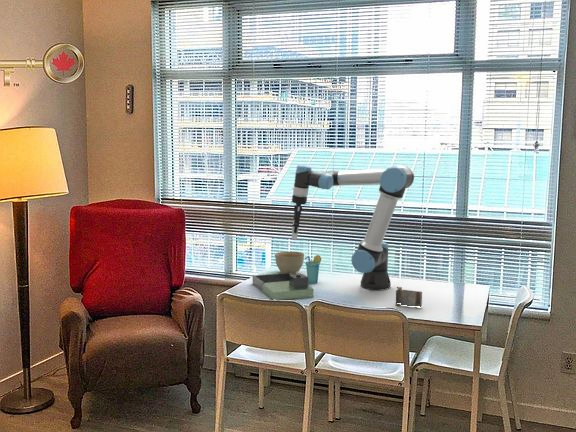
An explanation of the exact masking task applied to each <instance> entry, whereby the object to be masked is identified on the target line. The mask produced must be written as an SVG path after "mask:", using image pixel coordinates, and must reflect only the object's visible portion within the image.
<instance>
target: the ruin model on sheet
mask: <svg viewBox="0 0 576 432" xmlns="http://www.w3.org/2000/svg"><path fill="white" fill-rule="evenodd" d="M397 303H401V305H407V306H420V307H421V306H422V307H423V305H422V304H423V291H418V290H409V289H403V288H402V286H396V290H395V305H396V304H397Z"/></svg>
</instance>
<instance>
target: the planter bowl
mask: <svg viewBox="0 0 576 432" xmlns="http://www.w3.org/2000/svg"><path fill="white" fill-rule="evenodd" d="M274 258H275V263H276V267H277V269H279V272H280V273H291V274H292V275H295V274H296V272H297V271H300V270H301V269H302V266H303V264H304V260H305V253H304V252H299V251H280V252H275V253H274Z"/></svg>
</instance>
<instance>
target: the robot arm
mask: <svg viewBox="0 0 576 432" xmlns="http://www.w3.org/2000/svg"><path fill="white" fill-rule="evenodd" d="M295 170H296V171H295V177H294V184H293V187H292V190H293V191H292V197H291V202H292V203H293V204H295V205H294V206H293V207H294V209H293V213H294V214H293V219H292V228H291V239H292V240H297V239H298V234H299V228H300V220H301V215H302V211H303V206H302V205H306V204H307V202H308V201H307V200H308V194H309V187H314V188H317V189H321V190H331V188H332V187H335V186H336V187H340V186H379V187H378V191H379V193H380V195H379V198H378V200H377V202H376V205H375V209H374V211H373V214H372V217H371V219H370V223H369V225H368V228H367V231H366V233H365V236H364V239H362V240H360V242H359V244H358V246H357V248H356V249H357V250H356V251H354V253H353V254H352V255H351V265H352V267H353V269H354V270H355V271H356V272H358V273H361V274H362V276H361V279H360V287H361V288H363V289H367V290H372V291H373V290H374V291H375V290H376V291H380V289H384V290H388V289H390V288H391V287H392V286H391V285H392V284H391V280H390V276H389V275H390V274H389V272H388V271H389V270H388V264H389V261H388V260H389V244H388V242H385V241H384V238H385V236H386V234H387V231H388V228H389V226H390V223H391V219H392V218H393V214H394V211H395V210H396V209H395V208H396V206H397V205H398V201H400V200H401V199H403V197H404V194H405V192H406V189H408V188H410V187H411V186H412V184H413V183H414V181H415V174H414V173H415V172H414V171H413V170H412V168H411V167H409V166H408V165H405V164H399V165H390V166H388V167H386V168H385V169H384V168H383V169H359V170H358V169H354V170H330V171H323V172H319V171H314V170H312V166H311V165H308V164H297V166H296V169H295ZM390 286H391V287H390ZM389 287H390V288H389ZM387 288H388V289H387Z"/></svg>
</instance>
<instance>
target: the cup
mask: <svg viewBox="0 0 576 432" xmlns="http://www.w3.org/2000/svg"><path fill="white" fill-rule="evenodd" d="M307 259H308V261H306V262H305V266H306V268H305V269H306V276H307V277H308V285H309V284H311V285H316V284H318V281H319V274H320V266H321V265H320V264H321V262H322V257H321V255H320V254H319V255H318V254H316V255H314V257H313V260H311V257H310V256H309V255H307V256H306V257H304V260H307Z"/></svg>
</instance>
